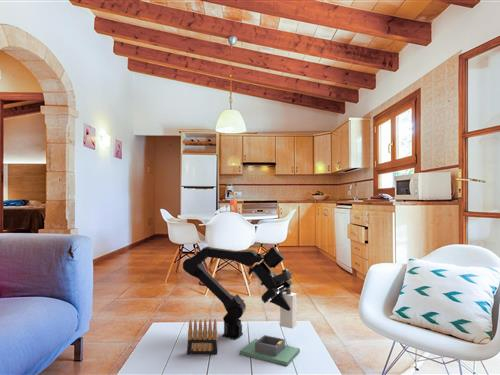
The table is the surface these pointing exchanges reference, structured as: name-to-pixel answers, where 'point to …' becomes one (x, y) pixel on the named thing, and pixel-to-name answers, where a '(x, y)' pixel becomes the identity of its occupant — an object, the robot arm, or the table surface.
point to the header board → (271, 350)
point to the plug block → (290, 316)
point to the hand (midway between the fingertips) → (291, 308)
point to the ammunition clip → (202, 339)
